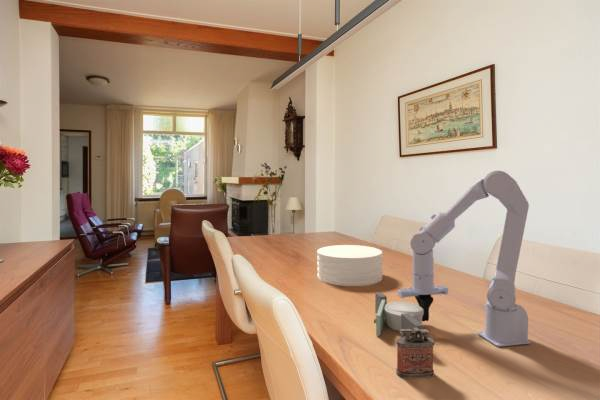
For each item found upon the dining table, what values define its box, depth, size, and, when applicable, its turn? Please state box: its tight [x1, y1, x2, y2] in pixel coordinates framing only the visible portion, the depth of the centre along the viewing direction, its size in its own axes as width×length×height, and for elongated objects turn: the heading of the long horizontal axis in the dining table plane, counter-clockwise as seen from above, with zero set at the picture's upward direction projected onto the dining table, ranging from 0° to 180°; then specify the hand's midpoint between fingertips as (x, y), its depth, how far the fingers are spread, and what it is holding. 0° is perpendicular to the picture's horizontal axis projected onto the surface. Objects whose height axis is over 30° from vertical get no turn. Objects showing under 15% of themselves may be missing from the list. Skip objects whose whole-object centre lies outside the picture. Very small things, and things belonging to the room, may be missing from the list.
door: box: [373, 299, 386, 336], centre depth 102 cm, size 2×13×6 cm, turn 161°
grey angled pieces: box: [374, 292, 425, 338], centre depth 100 cm, size 2×26×6 cm, turn 10°
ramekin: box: [384, 301, 424, 332], centre depth 102 cm, size 11×11×5 cm
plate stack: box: [316, 244, 383, 287], centre depth 155 cm, size 28×28×12 cm
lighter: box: [395, 327, 435, 379], centre depth 77 cm, size 8×3×10 cm, turn 92°
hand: (423, 319), depth 103 cm, fingers closed, pressing on ramekin
